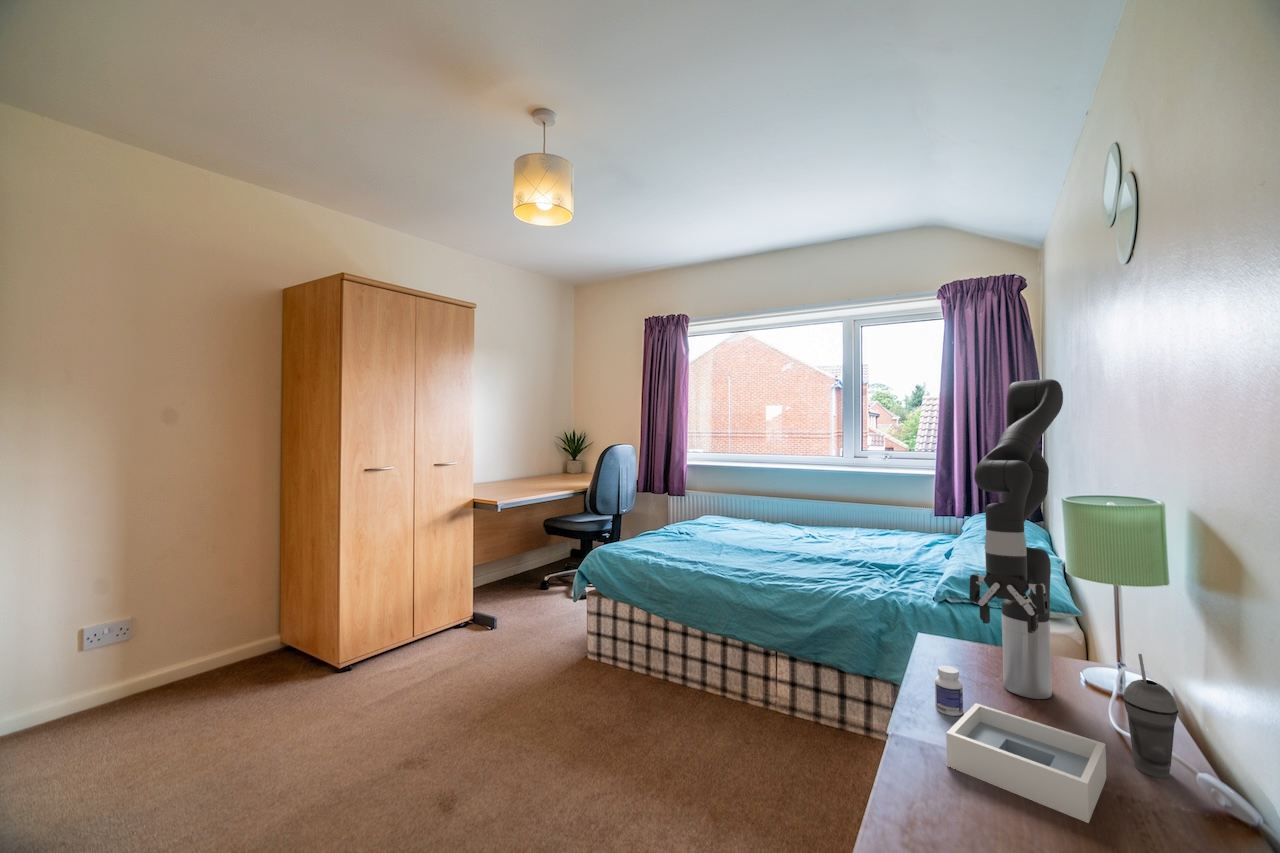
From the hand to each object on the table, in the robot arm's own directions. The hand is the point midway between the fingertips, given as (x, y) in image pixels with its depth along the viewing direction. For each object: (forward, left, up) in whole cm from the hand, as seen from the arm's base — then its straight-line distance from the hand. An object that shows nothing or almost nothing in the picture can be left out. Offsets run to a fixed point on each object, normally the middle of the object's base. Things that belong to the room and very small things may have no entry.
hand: (1008, 627), depth 119 cm
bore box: (+23, +8, -18) cm, 30 cm away
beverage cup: (+6, +23, -18) cm, 30 cm away
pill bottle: (+9, -9, -18) cm, 22 cm away
